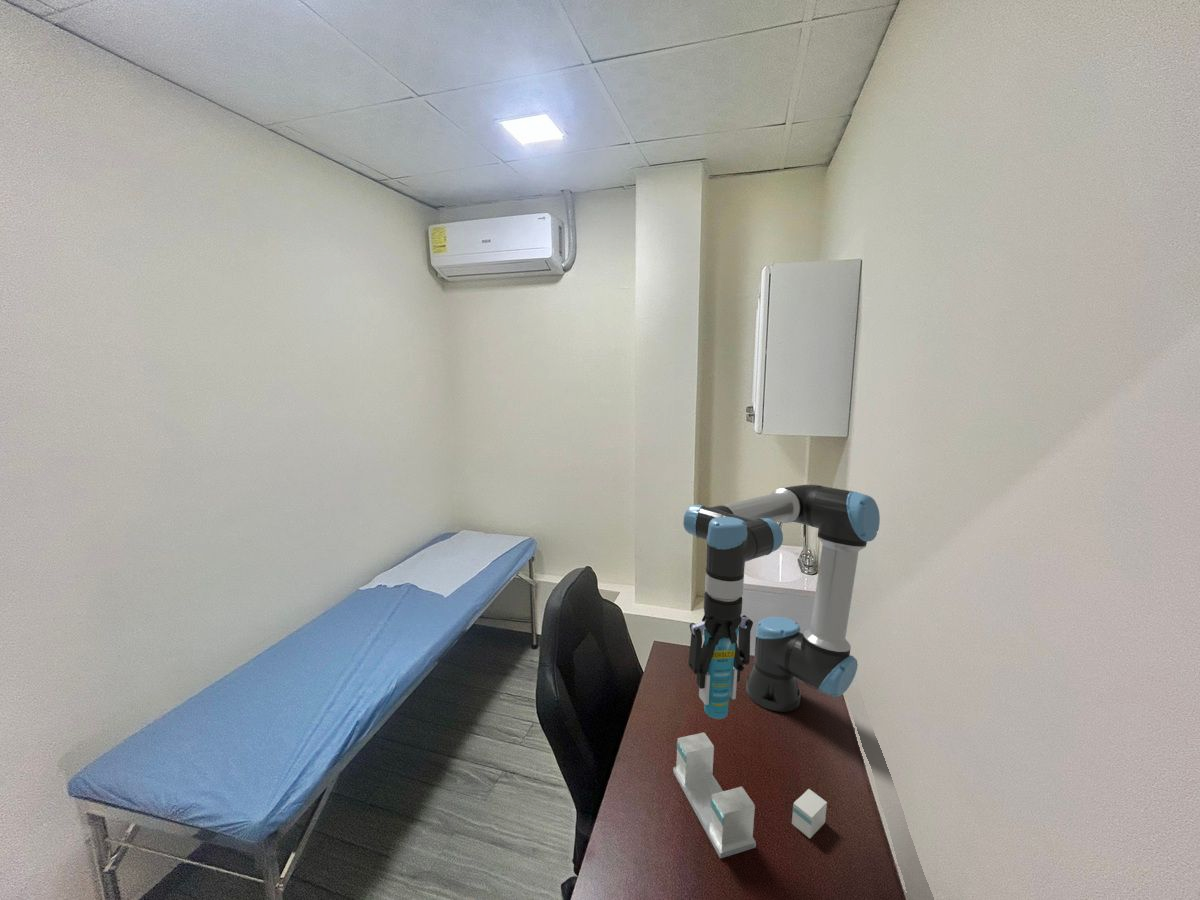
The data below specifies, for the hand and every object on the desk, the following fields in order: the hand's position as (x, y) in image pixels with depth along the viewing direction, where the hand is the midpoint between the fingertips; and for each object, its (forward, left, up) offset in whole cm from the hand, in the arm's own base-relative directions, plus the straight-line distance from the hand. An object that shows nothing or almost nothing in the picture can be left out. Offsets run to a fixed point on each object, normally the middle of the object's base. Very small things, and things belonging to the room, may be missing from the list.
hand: (717, 697), depth 97 cm
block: (-18, +9, -26) cm, 33 cm away
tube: (0, 0, -4) cm, 4 cm away
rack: (0, 0, -26) cm, 26 cm away
